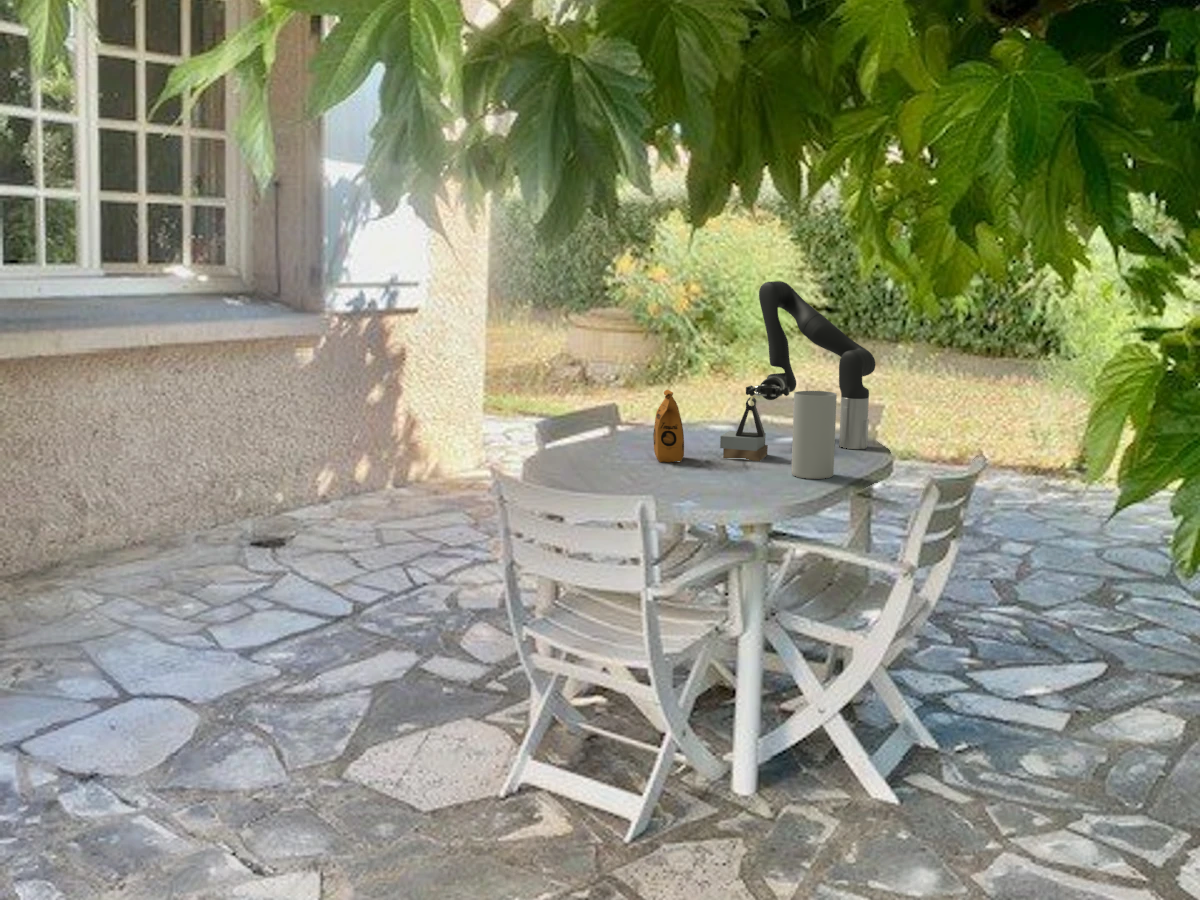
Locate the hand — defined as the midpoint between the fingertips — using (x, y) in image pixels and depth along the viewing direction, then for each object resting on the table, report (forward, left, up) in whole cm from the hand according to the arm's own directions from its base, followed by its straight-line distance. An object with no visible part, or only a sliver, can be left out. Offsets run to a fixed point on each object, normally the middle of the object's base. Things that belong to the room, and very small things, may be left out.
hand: (763, 393), depth 417 cm
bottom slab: (+3, +13, -20) cm, 24 cm away
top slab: (+4, +13, -16) cm, 21 cm away
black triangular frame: (+2, +13, -12) cm, 18 cm away
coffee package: (+25, +26, -20) cm, 41 cm away
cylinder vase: (-23, +37, -20) cm, 48 cm away
